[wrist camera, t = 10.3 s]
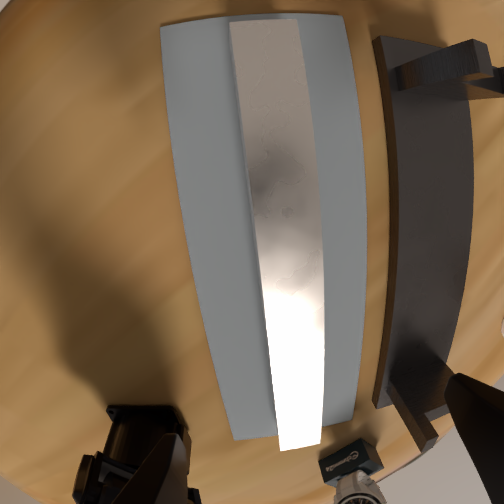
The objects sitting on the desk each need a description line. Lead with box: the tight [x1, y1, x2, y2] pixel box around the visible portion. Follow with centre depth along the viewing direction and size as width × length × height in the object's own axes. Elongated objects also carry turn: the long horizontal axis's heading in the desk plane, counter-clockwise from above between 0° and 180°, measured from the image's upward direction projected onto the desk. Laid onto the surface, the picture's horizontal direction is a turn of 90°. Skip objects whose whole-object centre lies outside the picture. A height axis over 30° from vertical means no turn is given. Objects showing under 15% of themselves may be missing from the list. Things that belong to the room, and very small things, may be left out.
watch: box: [319, 438, 387, 504], centre depth 22 cm, size 6×8×11 cm
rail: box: [229, 19, 324, 451], centre depth 17 cm, size 3×28×3 cm, turn 7°
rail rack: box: [372, 35, 504, 453], centre depth 15 cm, size 7×29×8 cm, turn 7°
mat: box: [160, 13, 367, 440], centre depth 19 cm, size 11×32×1 cm, turn 7°
